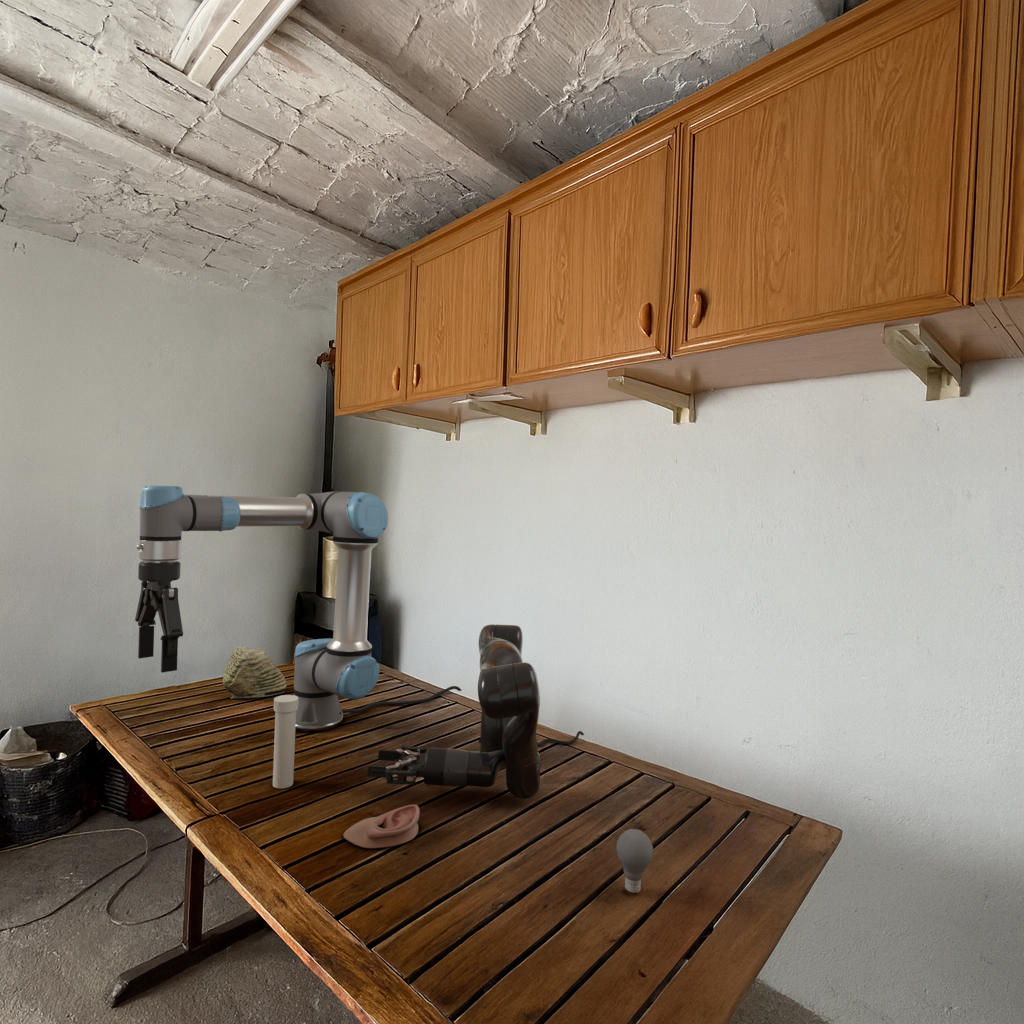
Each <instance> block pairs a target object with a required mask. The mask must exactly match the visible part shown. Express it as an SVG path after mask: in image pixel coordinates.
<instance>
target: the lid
mask: <svg viewBox="0 0 1024 1024" xmlns="http://www.w3.org/2000/svg"><path fill="white" fill-rule="evenodd" d="M297 709H298V697H297V696H294V694H282V695H279V696H275V697H274V698H273V711H274V712H279V713H288V712H293V711H296V710H297Z"/></svg>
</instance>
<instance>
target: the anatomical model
mask: <svg viewBox="0 0 1024 1024" xmlns="http://www.w3.org/2000/svg"><path fill="white" fill-rule="evenodd" d="M420 814H421V813H420V807H419V805H417V804H408V805H404V806H400V807H397V808H395V809H392V810H390V811H388V812H385V813H383V814H380V815H378V816H372V817H367V818H364V819H361V820H360V821H358V822H356V823H354V824H353V825H351V826H350V827H348V828H347V829H346V830H345V831H344V833H343V835H342V836H343V838H344V839H345V840H346V841H348V842H349V843H352V844H353V845H355V846H358V847H360V848H364V849H380V848H388V847H395V846H399V845H402V844H405V843H407V842H410V841H412V840H414V839H415V838H416V836H417V835H418V832H419V823H418V821H419V819H420Z"/></svg>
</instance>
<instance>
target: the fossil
mask: <svg viewBox="0 0 1024 1024" xmlns="http://www.w3.org/2000/svg"><path fill="white" fill-rule="evenodd" d="M222 676H223V677H222V685H223V687H224V688H225V690H226V691H228V693H229V698H230V699H250V698H264V697H271V696H275V695H281V694H284V693H285V691H286V689H287V687H288V686H287V680H286V678H285V676H284V674H283V673H282V672H281V669H279V668H278V667H277V665H276V663H275V662H274V660H273V659H272V658H271V657H270V656H269V655H268V654H267V653H266V652H265V650H264V649H263V648H260V647H258V648H251V647H247V646H246V647H245V646H238V647H237V648H236V649H235V650H233V651H232V653H231V656H230V657H229V659H228V660H227V663H226V666H225V668H224V671H223V675H222Z"/></svg>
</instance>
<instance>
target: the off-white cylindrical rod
mask: <svg viewBox="0 0 1024 1024" xmlns="http://www.w3.org/2000/svg"><path fill="white" fill-rule="evenodd" d="M274 712H275V711H274ZM295 725H296V711H293V712H288V713H279V712H275V714H274V736H273V737H274V738H273V739H274V740H273V763H272V767H273V768H272V787H273V788H275V789H287V788H290V787H292V786H293V785H294V779H295V777H294V774H295V752H296V751H295V750H296V749H295V748H296V731H295Z"/></svg>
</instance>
